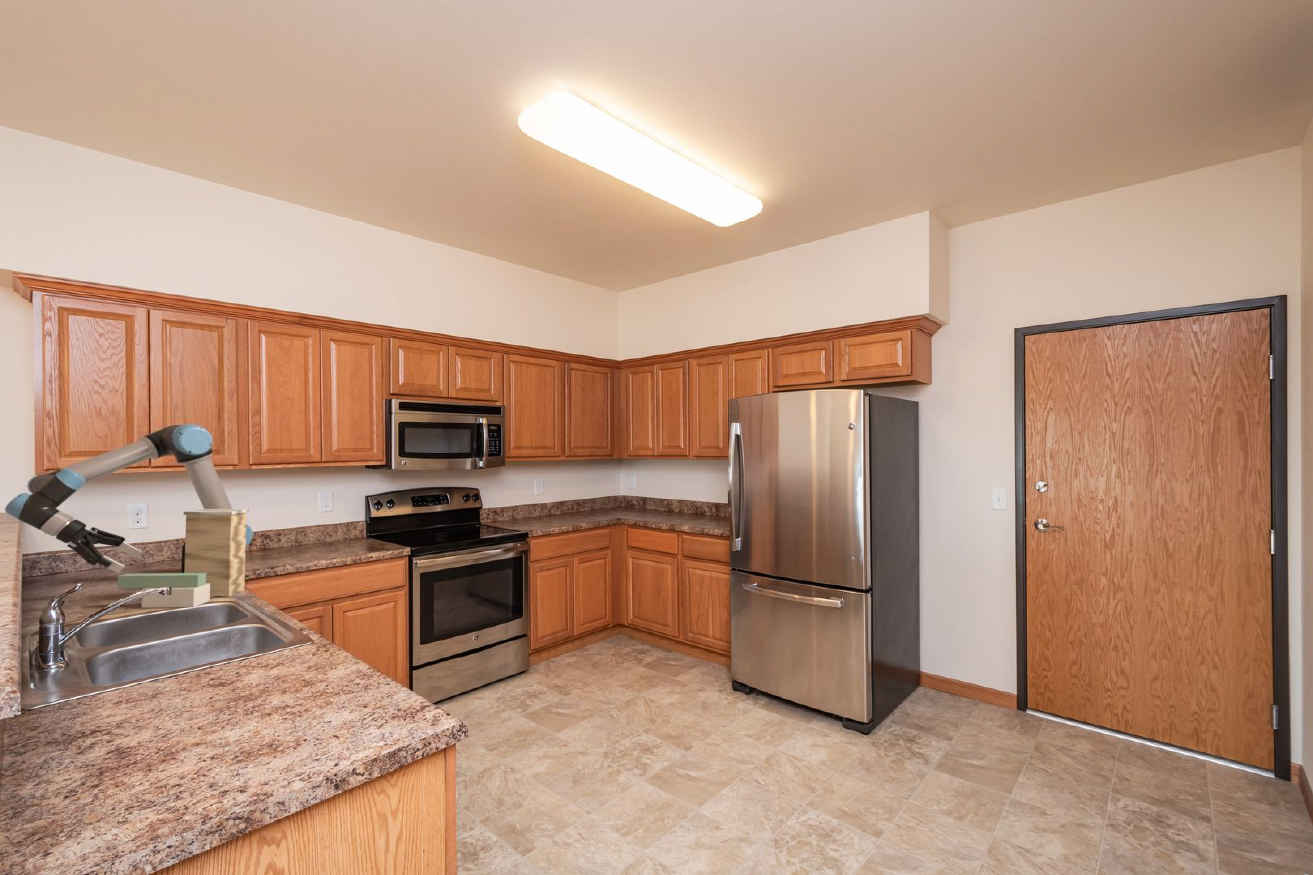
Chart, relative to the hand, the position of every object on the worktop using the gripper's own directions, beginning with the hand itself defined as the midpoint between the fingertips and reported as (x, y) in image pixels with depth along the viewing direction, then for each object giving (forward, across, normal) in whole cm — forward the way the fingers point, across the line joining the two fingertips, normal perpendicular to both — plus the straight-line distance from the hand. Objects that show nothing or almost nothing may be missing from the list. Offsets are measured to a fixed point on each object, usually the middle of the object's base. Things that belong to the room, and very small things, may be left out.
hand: (130, 562), depth 204 cm
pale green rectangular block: (+13, +12, +4) cm, 18 cm away
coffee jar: (+22, -14, -4) cm, 26 cm away
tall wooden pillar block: (+27, +3, +5) cm, 28 cm away
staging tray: (+20, +15, +2) cm, 25 cm away
